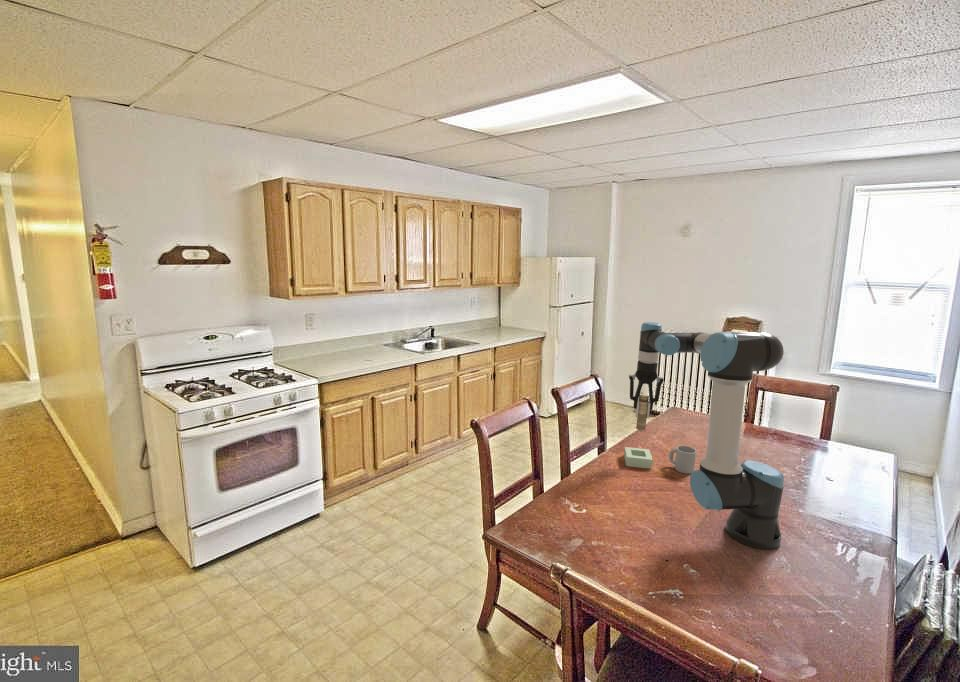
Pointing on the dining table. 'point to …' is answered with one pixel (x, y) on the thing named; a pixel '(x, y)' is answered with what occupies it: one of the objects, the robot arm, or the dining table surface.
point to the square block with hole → (638, 457)
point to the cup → (683, 459)
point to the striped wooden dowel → (642, 412)
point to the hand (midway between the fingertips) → (642, 416)
